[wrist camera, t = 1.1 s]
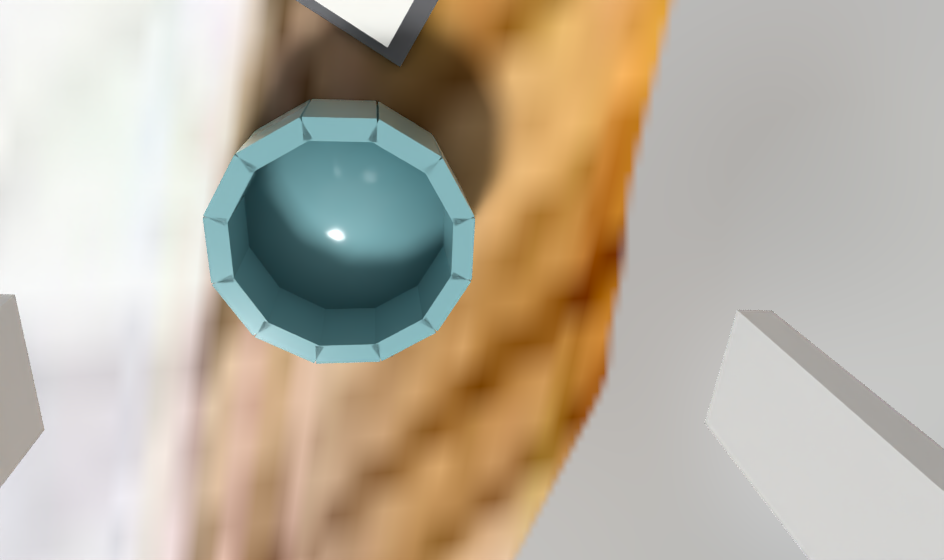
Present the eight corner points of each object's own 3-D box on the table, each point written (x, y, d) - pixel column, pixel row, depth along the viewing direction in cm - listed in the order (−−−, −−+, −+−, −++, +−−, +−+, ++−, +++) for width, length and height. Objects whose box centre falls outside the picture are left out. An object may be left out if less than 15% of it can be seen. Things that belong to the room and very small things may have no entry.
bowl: (191, 255, 33) (162, 296, 29) (295, 50, 30) (282, 60, 25) (390, 348, 37) (392, 397, 33) (502, 177, 34) (522, 205, 29)
